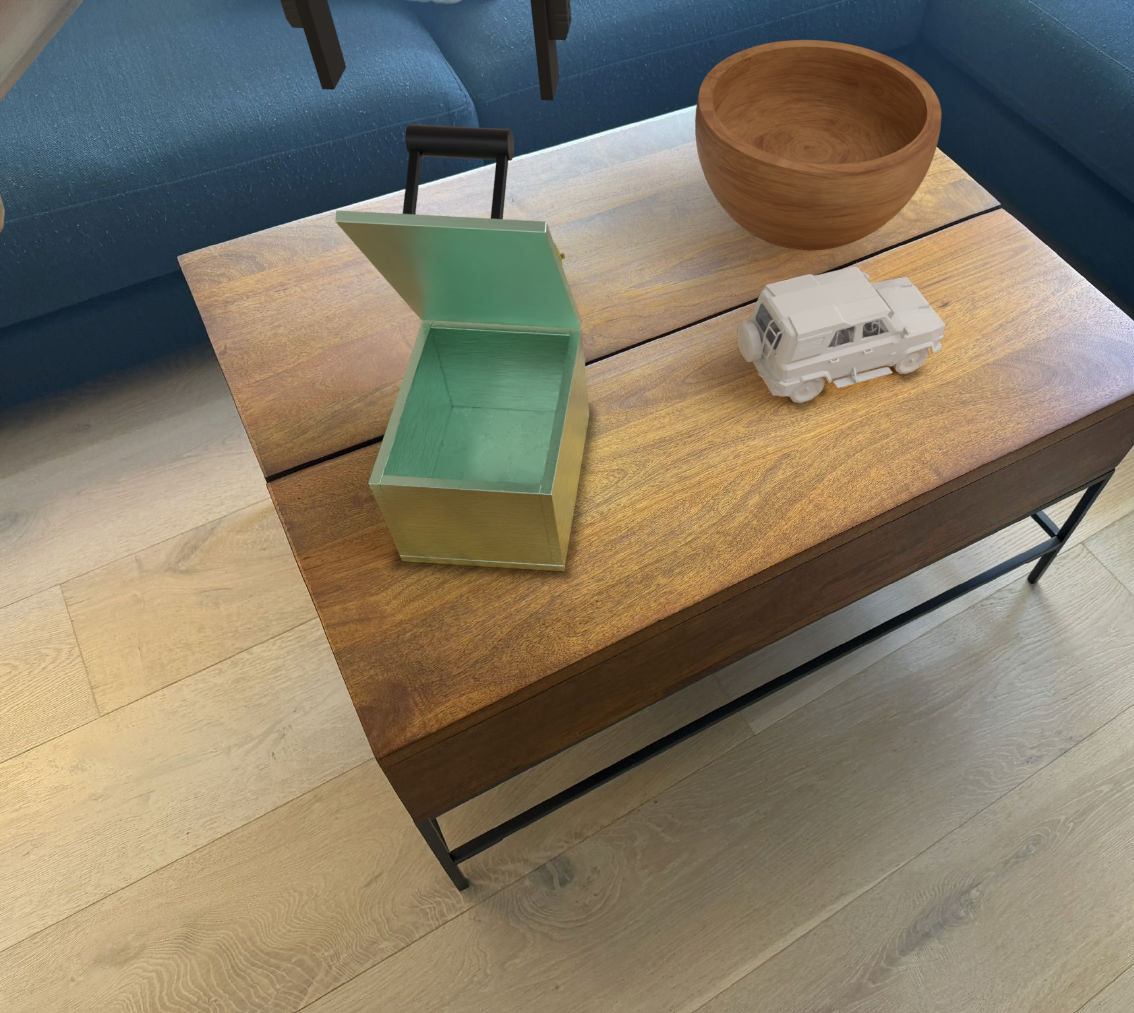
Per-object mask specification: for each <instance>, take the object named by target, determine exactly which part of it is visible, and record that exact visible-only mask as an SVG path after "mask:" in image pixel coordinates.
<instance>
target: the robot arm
mask: <svg viewBox="0 0 1134 1013" xmlns="http://www.w3.org/2000/svg"><path fill="white" fill-rule="evenodd" d="M279 1H280V4H281V8H282V11H283V14H284V17H285V20H286V22H287V23H288V24H289V25H290V27H291V28H293V29H303V32H304V35H305V38H306V42H307V45H308V49H309V52H310V54H311V58H312V61H313V64H314V67H315V71H316V74H317V77H318V80H319V83H320V87H321V90H331V91H332V90H333V91H335V89H336V88H337V85H338V83H339V82H340V80H341V78H342V77H343V75H344V73H345V70H346V69H347V65H346V61H345V57H344V54H343V51H342V47H341V44H340V39H339V36H338V32H337V29H336V25H335V22H334V18H333V15H332V11H331V9H330V8H331V7H330V5H329V1H328V0H279ZM83 2H84V0H0V103H1V102H2V101H3V100H4V99H5V97H6V96H7V94H8V93H9V92H10V91H11V90H12V88H13V87H14V86H15V85H16V84H17V82H18V81H19V80H20V79H21V77H22V76H24V74H25V73H26V71H27V70H28V69H29V67H31V65H32V64H34V63H33V62H35V60H36V59H37V58H38V57H39V56H40V54H41V53H42V52H43V50H44V49H45V48H46V47H47V45H49V43H50V42H51V41H52V39H53V38H54V37H55V36H56V35H57V33H58V32H59V31H60V30H61V28H62V27H63V26H64V25H65V24H66V22H67V21H68V20H69V19H70V17H71V16H72V15H73V14H74V12H76V11H77V9H78V8H79V7H80V5H81V4H82V3H83ZM530 9H531V10H530V11H531V18H532V28H533V38H534V46H535V57H536V65H537V74H538V84H539V94H540V100H541V101H550V102H551V101H552V102H553V101H554V100H555V96H556V92H557V88H558V84H559V81H560V70H559V59H558V47H557V41H567V38H568V35H569V32H570V27H571V23H572V7H571V0H530ZM5 213H6V212H5V205H4V202H3V199H2V195H1V194H0V234H1V232H2V231H3V229H4V225H5Z"/></svg>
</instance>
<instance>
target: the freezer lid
mask: <svg viewBox="0 0 1134 1013" xmlns="http://www.w3.org/2000/svg"><path fill="white" fill-rule="evenodd" d="M404 136H405V137H404V139H405V140H404V141H405V147H406V151H407V153H408V162H407V170H406V179H405V188H404V197H403V206H402V213H393V212H391V213H390V212H376V211H375V212H374V211H372V212H371V211H358V210H357V211H355V210H354V211H353V210H335V218H334V222H335V223H336V225H337V226H338V227H339V228H340V229H341V230H342V231H343V232H344V234H345V235H346V236H347V237H348V239H350V240H351V241H352V243H353V244H354V245H355V246H356V247H357V248H358V249H359V251H360V252H361V253H362V255H364V257H365V258H366V259H367V260H368V261H369V262H370V263H371V265H372V266H373V267H374V268H375V269H376V270H377V271H378V272H379V273H380V275H381V276H382V277H383V278H384V279H385V280H386V282H387V283H388V284H389V285H390V286H391V287H392V288H393V289H394V291H395V293H397V294H398V296H400V298H401V299H402V300H403V301H404V302H405V303H406V304H407V305H408V307H409V308H410V309H411V310H412V311H413V312H414V314H415V315H416V316H417V317H418V318H419V319H420V320H421V321H423V320H432V321H451V322H468V323H486V324H504V325H522V326H540V327H557V328H571V329H572V328H575V329H582V318H581V314H580V312H579V309H578V306H577V304H576V301H575V298H574V296H573V292H572V290H571V286H570V284H569V281H568V279H567V276H566V272H565V270H564V268H563V263H562V264H561V261H560V258H559V256H558V253H557V250H556V247H555V244H556V243H555V242H554V239H553V236H552V233H551V230H550V227H549V225H548V222H547V221H543V220H525V219H523V220H522V219H509V218H507V219H505V218H504V212H505V211H504V210H505V202H506V200H505V199H506V192H507V191H506V189H507V180H508V169H509V161H512V160H513V158H514V155H515V154H514V153H515V140H514V139H515V138H514V133H513V130H512V129H510V128H493V127H492V128H491V127H476V126H475V127H473V126H456V125H455V126H454V125H453V126H451V125H433V124H432V125H431V124H413V123H409V124H407V125H406V128H405V134H404ZM423 157H427V158H428V157H431V158H448V159H449V158H451V159H470V160H487V161H488V160H489V161H495V168H494V180H493V187H492V188H493V189H492V199H491V210H490V217H489V218H488V217H487V218H486V217H466V216H449V215H433V214H417V205H418V204H417V203H418V196H419V195H418V194H419V193H418V192H419V185H420V176H421V169H422V168H421V167H422V158H423ZM554 243H555V244H554Z"/></svg>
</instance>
